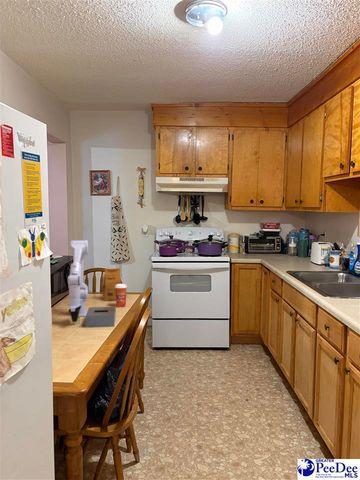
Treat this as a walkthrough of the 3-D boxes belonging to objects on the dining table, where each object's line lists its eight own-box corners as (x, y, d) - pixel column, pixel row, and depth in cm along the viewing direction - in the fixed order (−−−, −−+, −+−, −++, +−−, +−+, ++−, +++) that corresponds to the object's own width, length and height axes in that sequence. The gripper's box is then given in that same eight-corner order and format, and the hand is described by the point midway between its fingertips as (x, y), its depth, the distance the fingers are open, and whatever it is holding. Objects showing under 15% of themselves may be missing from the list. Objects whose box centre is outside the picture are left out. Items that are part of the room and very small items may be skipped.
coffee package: (102, 298, 247) (101, 267, 245) (119, 297, 251) (119, 266, 249) (103, 301, 238) (103, 269, 236) (121, 300, 241) (121, 268, 239)
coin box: (89, 317, 203) (89, 307, 202) (115, 316, 205) (115, 306, 204) (85, 327, 186) (85, 316, 186) (114, 326, 188) (114, 315, 188)
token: (70, 322, 193) (70, 315, 193) (80, 322, 194) (80, 315, 194) (70, 324, 191) (70, 316, 191) (79, 323, 192) (79, 316, 192)
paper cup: (115, 308, 223) (115, 286, 222) (114, 304, 230) (114, 283, 229) (128, 307, 225) (128, 285, 224) (126, 304, 232) (126, 283, 231)
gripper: (69, 293, 198) (69, 316, 199) (64, 299, 184) (65, 325, 185) (82, 293, 199) (82, 316, 200) (78, 299, 185) (78, 324, 186)
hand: (75, 320), depth 193 cm, fingers open, 3 cm apart
